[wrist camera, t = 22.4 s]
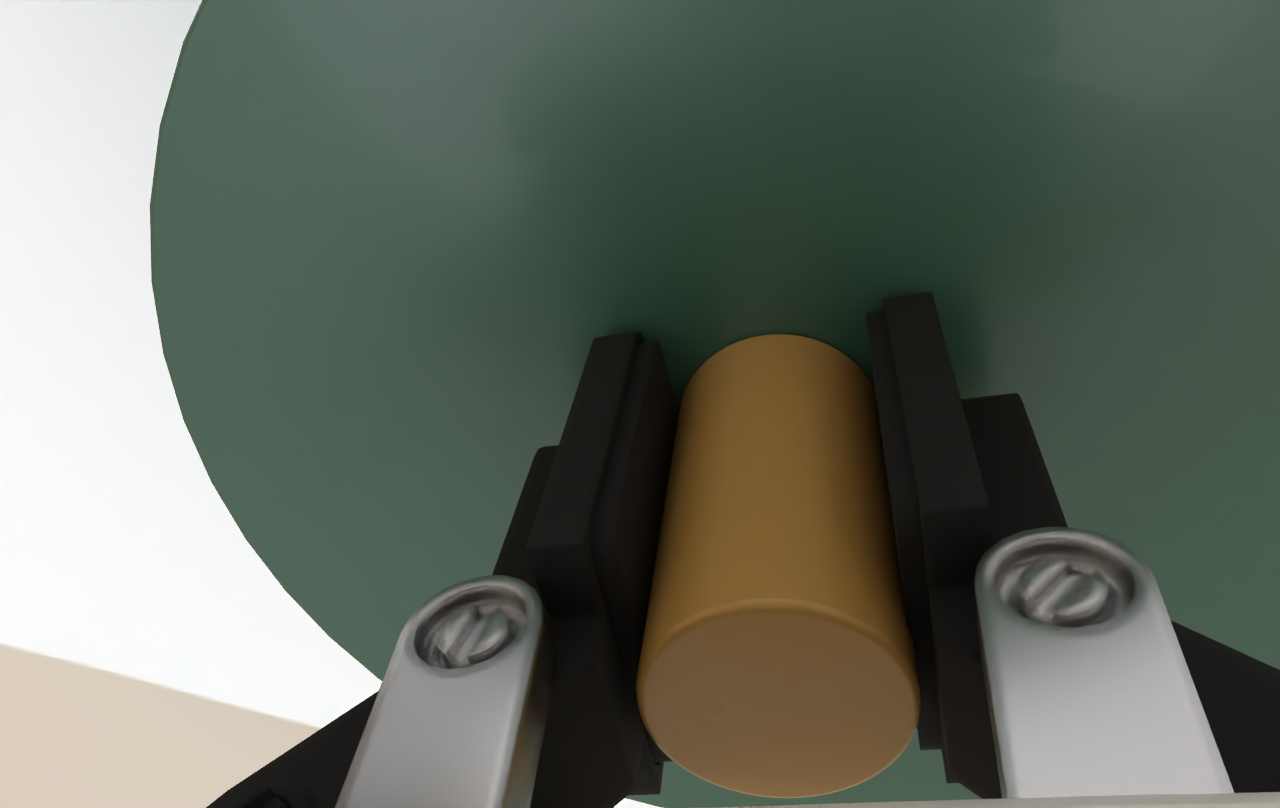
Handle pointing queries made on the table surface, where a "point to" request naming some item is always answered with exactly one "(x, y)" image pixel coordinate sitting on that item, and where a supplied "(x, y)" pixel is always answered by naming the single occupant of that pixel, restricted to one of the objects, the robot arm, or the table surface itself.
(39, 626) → the table surface
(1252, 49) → the pot lid
